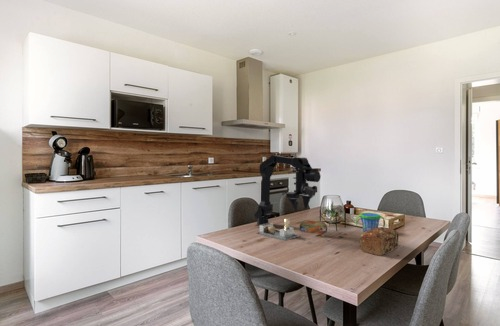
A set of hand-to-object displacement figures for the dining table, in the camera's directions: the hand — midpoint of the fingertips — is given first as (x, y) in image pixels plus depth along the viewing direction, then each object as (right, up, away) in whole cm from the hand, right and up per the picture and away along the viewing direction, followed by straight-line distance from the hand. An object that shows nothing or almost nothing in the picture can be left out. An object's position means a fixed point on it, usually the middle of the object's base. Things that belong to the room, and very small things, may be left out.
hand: (300, 209), depth 153 cm
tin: (+8, -15, +4) cm, 17 cm away
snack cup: (+42, -15, +11) cm, 45 cm away
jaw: (-8, -13, -4) cm, 16 cm away
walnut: (-15, -13, +3) cm, 21 cm away
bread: (+33, -16, -20) cm, 42 cm away
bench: (-12, -15, 0) cm, 19 cm away
